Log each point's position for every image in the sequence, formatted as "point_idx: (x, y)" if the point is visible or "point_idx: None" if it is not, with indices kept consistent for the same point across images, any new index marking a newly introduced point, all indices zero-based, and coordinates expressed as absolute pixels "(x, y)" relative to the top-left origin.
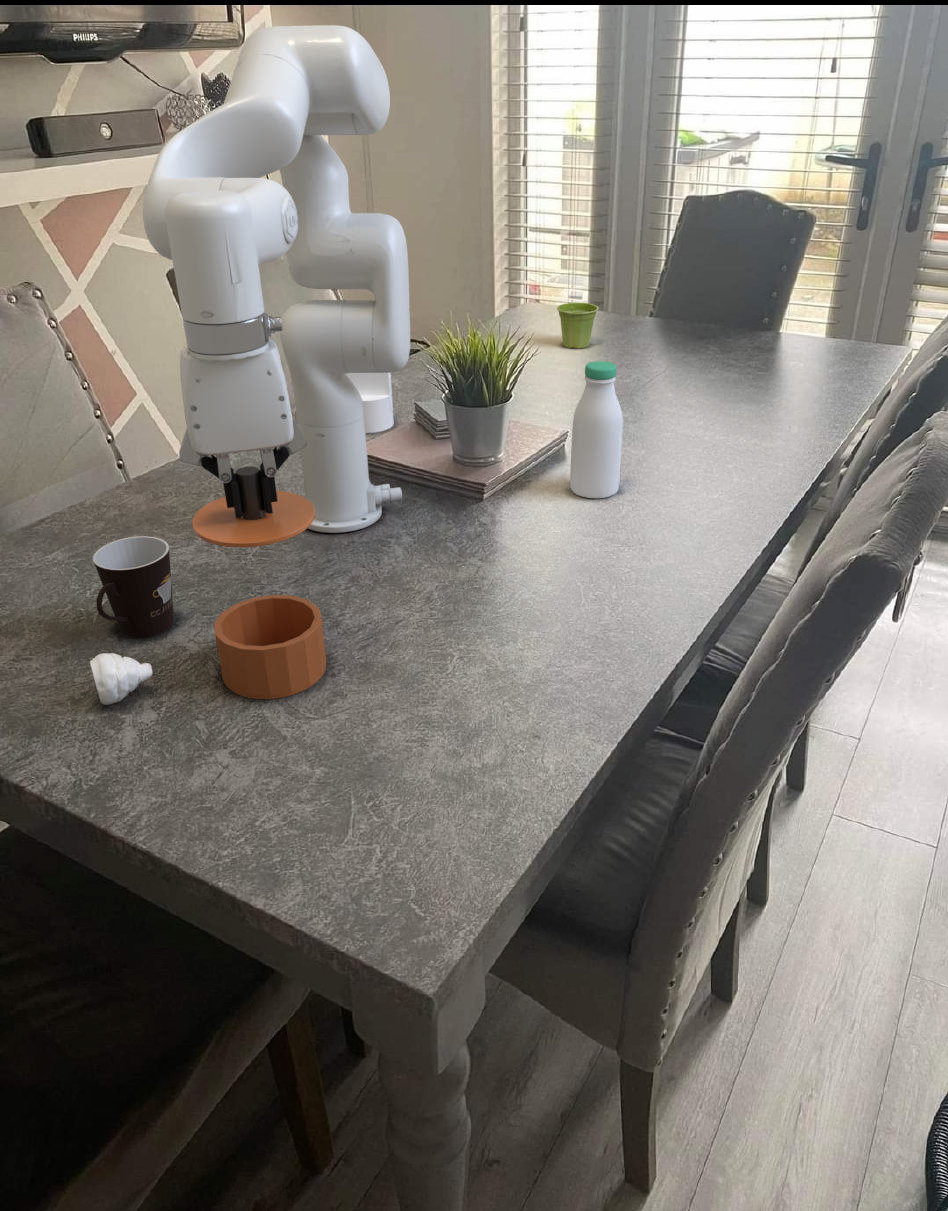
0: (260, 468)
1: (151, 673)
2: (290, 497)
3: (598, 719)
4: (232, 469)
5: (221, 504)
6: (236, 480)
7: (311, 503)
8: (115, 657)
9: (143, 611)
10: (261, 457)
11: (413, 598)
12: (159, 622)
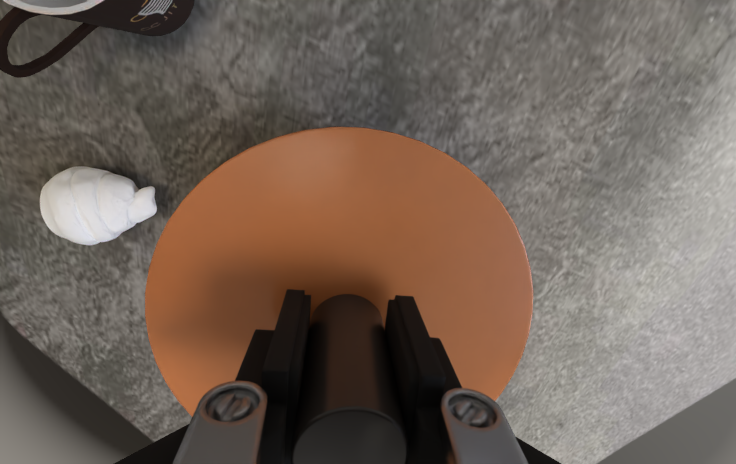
0: (418, 431)
1: (154, 213)
2: (487, 245)
3: (627, 420)
4: (278, 439)
5: (251, 208)
6: (290, 458)
7: (531, 310)
8: (83, 212)
9: (123, 29)
10: (447, 462)
11: (587, 95)
12: (163, 28)
